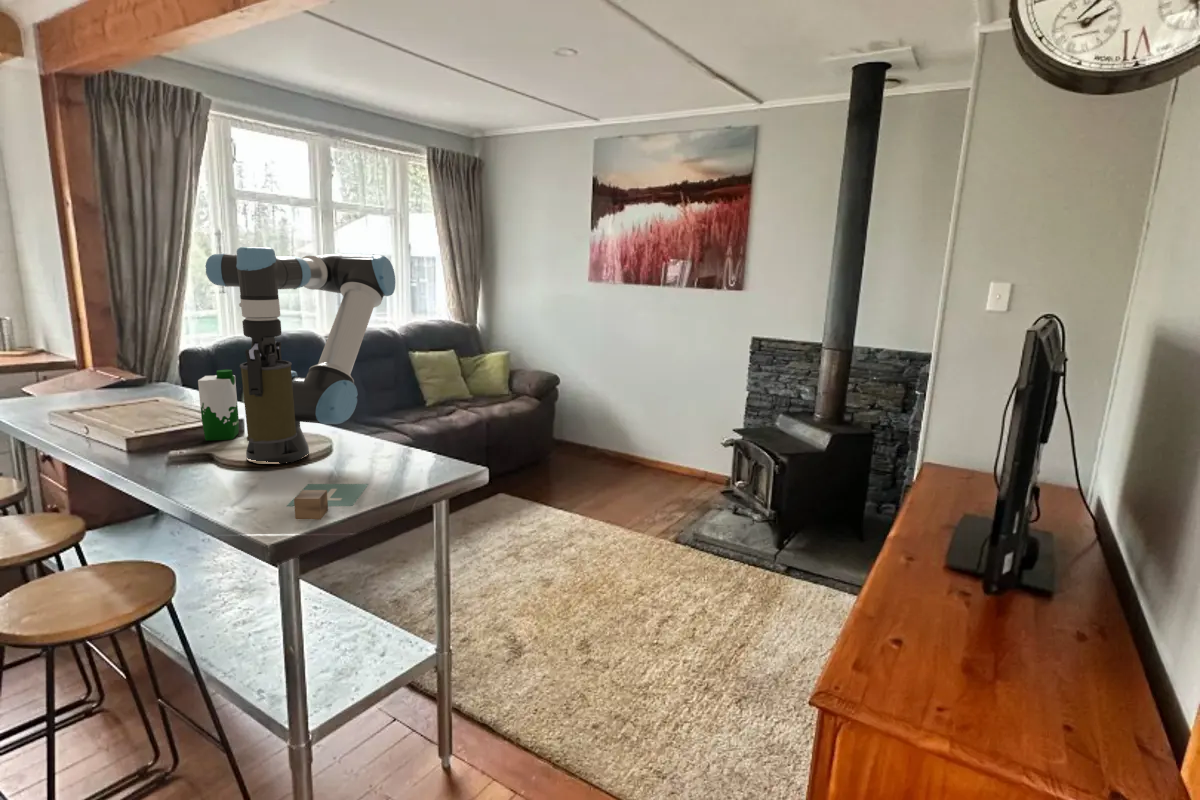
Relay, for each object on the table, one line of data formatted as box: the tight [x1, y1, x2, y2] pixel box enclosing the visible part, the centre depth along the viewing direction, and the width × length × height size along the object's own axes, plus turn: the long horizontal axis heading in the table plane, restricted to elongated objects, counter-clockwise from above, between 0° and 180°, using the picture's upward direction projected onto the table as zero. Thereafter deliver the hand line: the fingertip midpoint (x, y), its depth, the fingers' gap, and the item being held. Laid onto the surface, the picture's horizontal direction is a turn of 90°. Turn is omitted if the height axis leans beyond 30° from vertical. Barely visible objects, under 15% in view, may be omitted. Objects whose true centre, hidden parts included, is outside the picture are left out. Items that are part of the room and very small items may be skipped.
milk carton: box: [197, 368, 240, 442], centre depth 183 cm, size 9×9×20 cm
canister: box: [239, 352, 297, 444], centre depth 143 cm, size 11×10×20 cm
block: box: [293, 489, 329, 520], centre depth 132 cm, size 5×5×5 cm
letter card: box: [286, 483, 369, 507], centre depth 144 cm, size 14×14×1 cm
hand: (270, 418), depth 144 cm, fingers open, 6 cm apart
